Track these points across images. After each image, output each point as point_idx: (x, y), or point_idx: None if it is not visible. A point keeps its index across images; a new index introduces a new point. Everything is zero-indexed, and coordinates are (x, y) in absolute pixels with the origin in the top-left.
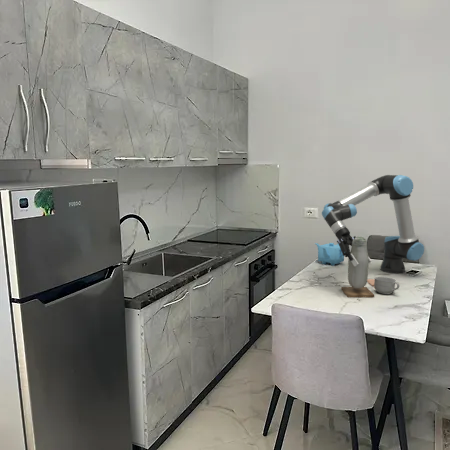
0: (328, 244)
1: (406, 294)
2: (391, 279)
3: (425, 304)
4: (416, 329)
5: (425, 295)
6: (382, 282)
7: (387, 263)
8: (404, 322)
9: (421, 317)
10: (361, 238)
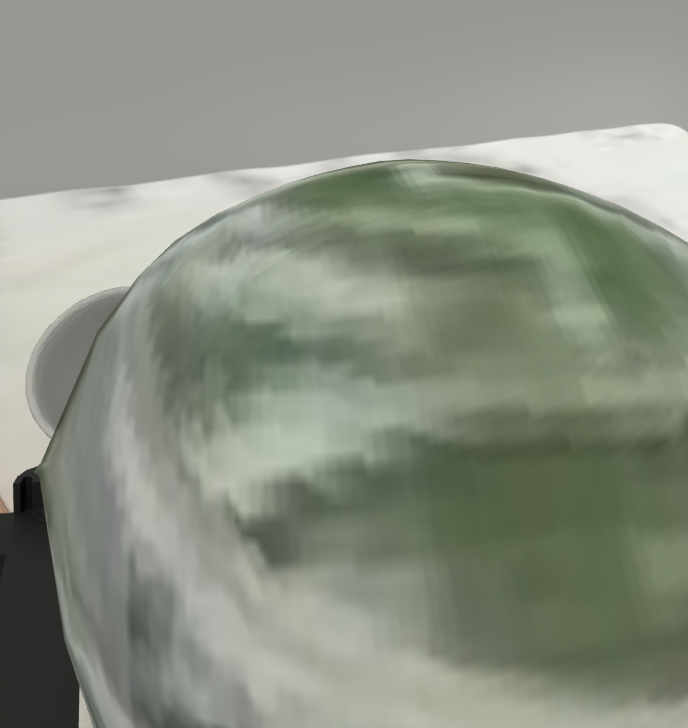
0: None
1: (121, 284)
2: (56, 340)
3: (262, 173)
4: (614, 145)
5: (78, 201)
6: None
7: None
8: (585, 190)
9: (468, 155)
10: (623, 222)
